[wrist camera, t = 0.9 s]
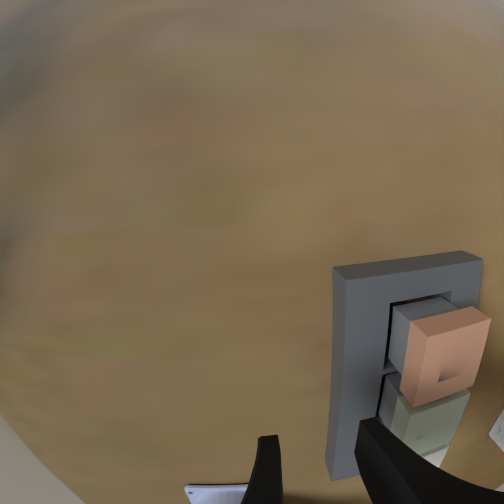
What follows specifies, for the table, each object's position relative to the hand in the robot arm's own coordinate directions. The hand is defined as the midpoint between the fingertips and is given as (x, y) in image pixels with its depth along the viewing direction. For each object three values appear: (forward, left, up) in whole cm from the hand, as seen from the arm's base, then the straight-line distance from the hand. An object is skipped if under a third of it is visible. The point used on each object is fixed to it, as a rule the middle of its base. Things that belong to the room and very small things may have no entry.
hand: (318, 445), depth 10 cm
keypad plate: (-5, -8, -9) cm, 13 cm away
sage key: (-5, -8, -7) cm, 12 cm away
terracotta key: (0, -8, -7) cm, 11 cm away
